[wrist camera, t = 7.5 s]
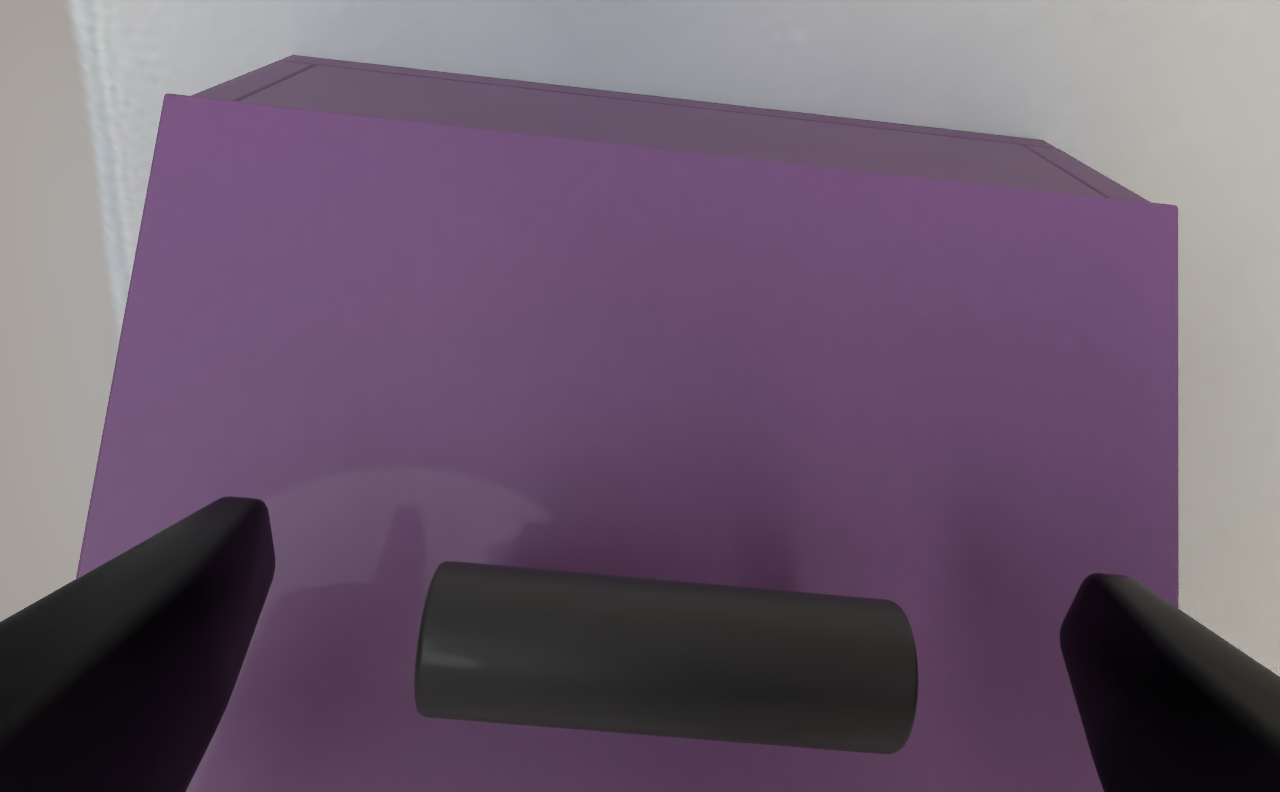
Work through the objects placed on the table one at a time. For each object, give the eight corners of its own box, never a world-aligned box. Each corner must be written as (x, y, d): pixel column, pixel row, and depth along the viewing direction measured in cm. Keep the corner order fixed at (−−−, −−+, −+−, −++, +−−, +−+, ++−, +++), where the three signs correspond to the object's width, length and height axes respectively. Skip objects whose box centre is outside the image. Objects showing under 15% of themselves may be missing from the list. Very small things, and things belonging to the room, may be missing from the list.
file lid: (1153, 1139, 13) (1517, 1543, 8) (9, 1069, 12) (-407, 1467, 7) (1155, 216, 15) (1443, 65, 10) (181, 109, 14) (-46, -115, 9)
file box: (890, 595, 26) (936, 728, 21) (336, 545, 25) (273, 673, 21) (1044, 140, 19) (1157, 204, 15) (290, 54, 18) (182, 96, 14)
